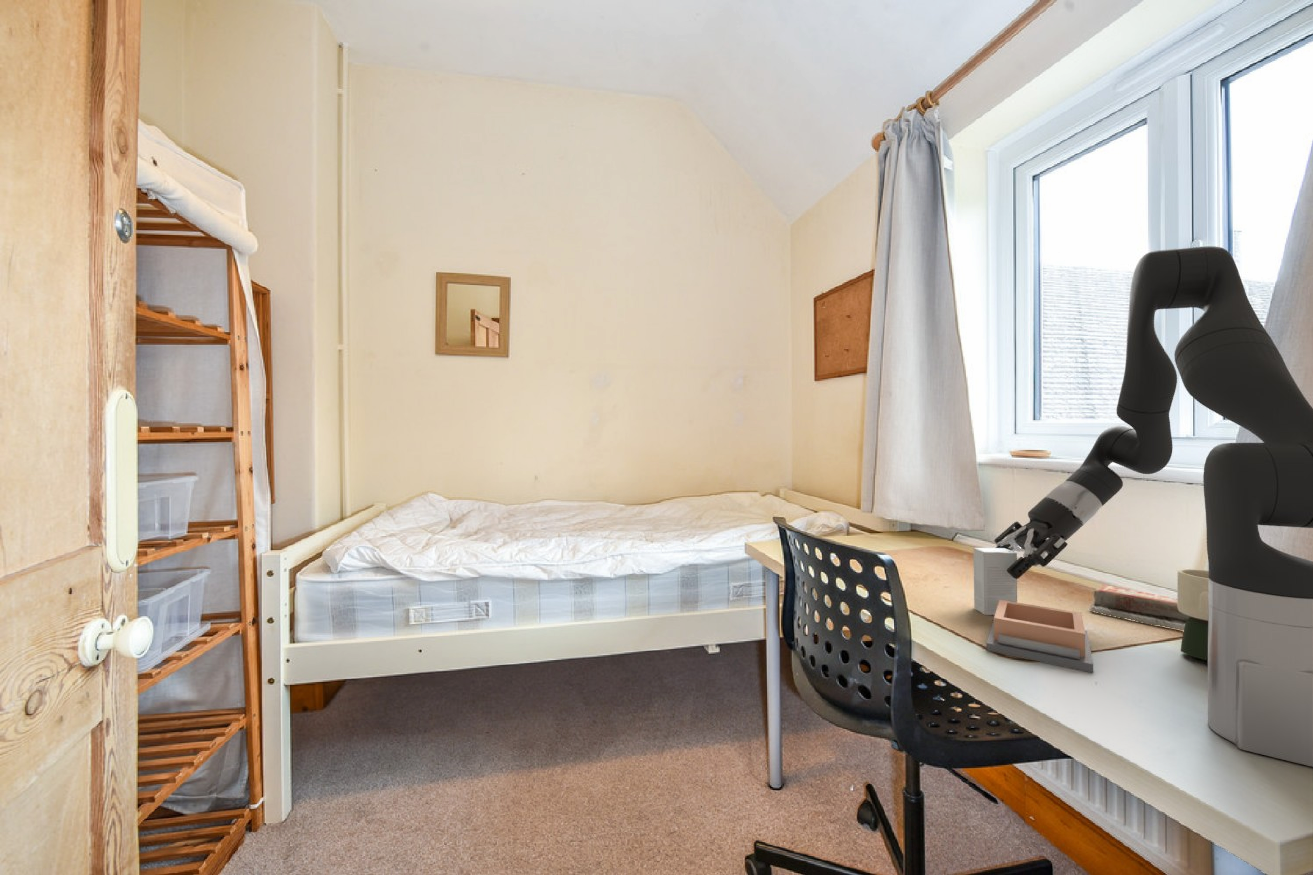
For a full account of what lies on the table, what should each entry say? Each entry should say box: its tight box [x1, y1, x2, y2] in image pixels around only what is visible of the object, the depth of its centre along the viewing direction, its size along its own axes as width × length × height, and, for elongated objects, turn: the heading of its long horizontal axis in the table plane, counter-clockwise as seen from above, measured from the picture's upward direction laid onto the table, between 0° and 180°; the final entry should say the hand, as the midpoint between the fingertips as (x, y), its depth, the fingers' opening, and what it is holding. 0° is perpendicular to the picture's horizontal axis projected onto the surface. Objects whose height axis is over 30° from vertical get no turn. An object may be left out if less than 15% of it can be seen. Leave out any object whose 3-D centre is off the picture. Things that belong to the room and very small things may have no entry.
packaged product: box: [1089, 584, 1191, 630], centre depth 97 cm, size 18×5×10 cm
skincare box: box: [972, 547, 1018, 616], centre depth 101 cm, size 6×4×12 cm
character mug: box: [1176, 568, 1209, 664], centre depth 80 cm, size 11×7×13 cm, turn 127°
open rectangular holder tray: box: [986, 600, 1094, 674], centre depth 86 cm, size 16×13×5 cm
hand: (999, 569), depth 101 cm, fingers open, 8 cm apart
